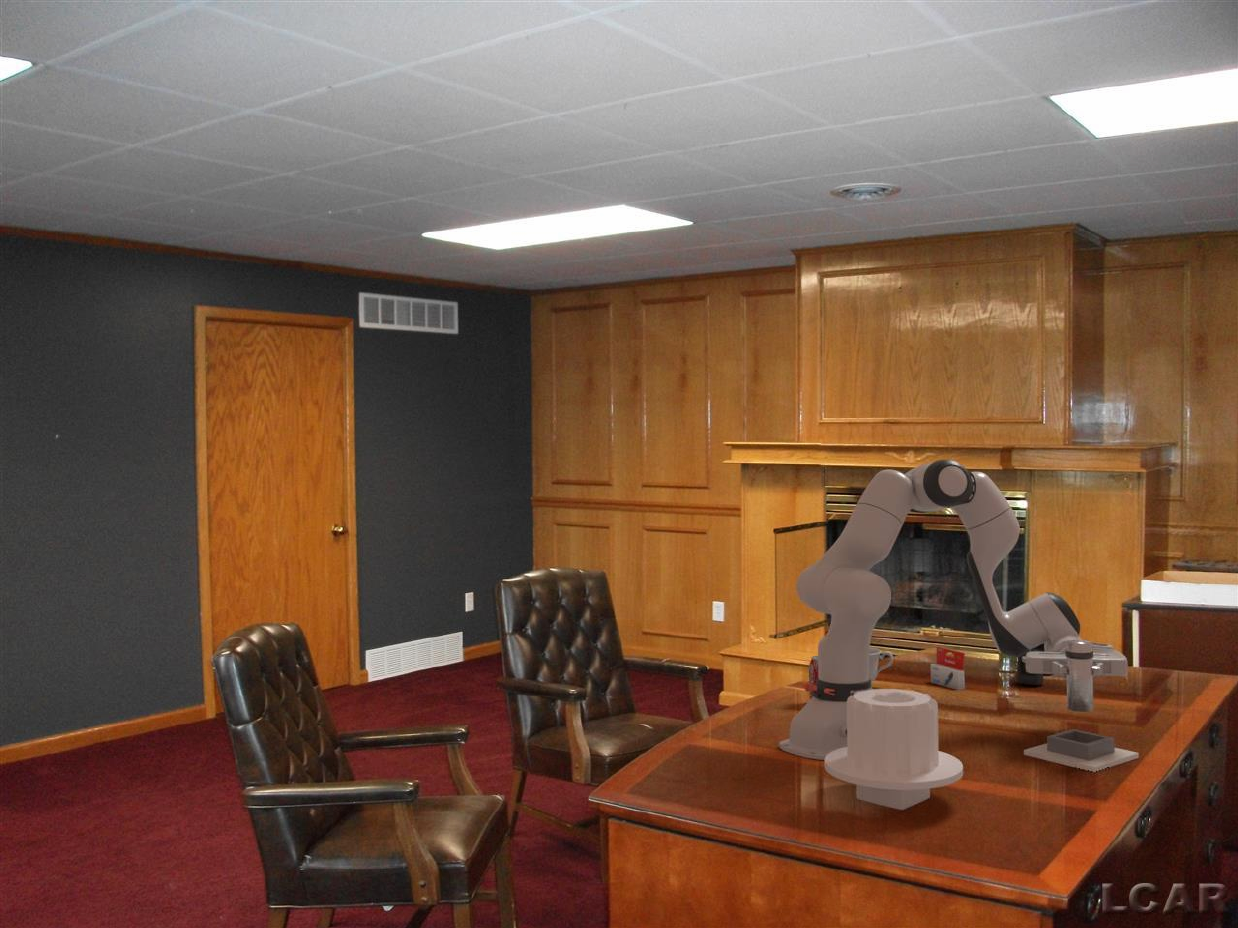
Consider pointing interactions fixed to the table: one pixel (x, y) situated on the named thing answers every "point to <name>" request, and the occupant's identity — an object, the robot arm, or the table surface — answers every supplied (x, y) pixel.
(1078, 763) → the socket mount
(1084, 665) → the capped metal cylinder
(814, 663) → the soda can
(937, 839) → the table surface
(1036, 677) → the headphones
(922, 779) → the flanged gear
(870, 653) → the teacup
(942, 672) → the ink cartridge box
